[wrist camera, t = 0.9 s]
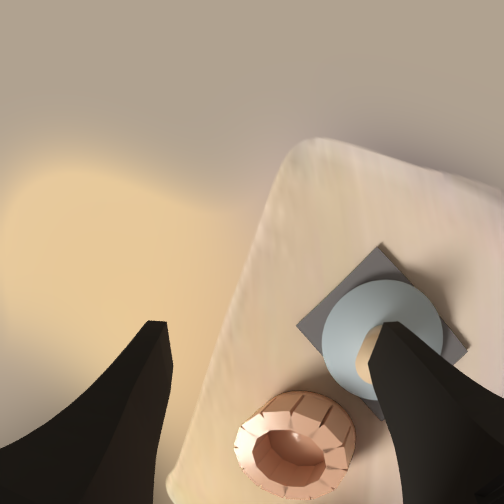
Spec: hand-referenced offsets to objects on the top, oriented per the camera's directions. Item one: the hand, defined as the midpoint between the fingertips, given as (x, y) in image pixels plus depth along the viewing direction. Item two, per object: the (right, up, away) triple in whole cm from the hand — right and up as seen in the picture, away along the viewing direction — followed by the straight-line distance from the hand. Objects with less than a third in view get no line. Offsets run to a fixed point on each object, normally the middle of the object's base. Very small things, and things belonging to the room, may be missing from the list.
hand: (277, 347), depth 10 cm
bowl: (+3, -12, +12) cm, 17 cm away
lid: (+8, -3, +9) cm, 13 cm away
